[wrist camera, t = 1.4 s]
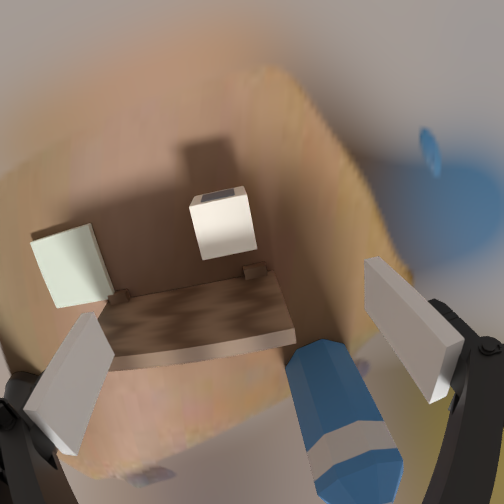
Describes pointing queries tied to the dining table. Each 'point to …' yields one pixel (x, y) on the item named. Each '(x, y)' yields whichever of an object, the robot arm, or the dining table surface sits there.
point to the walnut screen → (198, 321)
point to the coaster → (73, 266)
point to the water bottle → (342, 428)
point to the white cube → (223, 223)
